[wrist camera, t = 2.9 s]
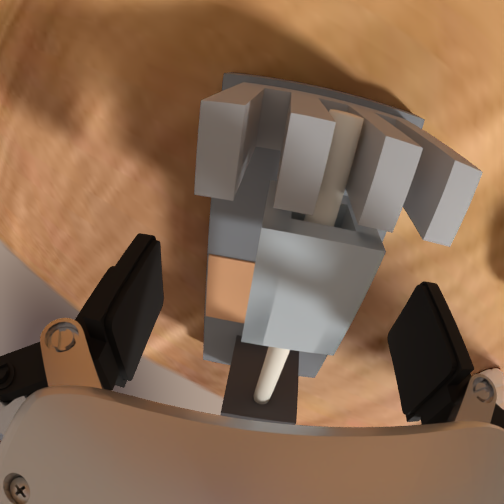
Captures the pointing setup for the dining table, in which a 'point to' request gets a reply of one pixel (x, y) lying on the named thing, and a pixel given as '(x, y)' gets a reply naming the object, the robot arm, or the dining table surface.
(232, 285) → the board
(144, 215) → the dining table surface
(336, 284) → the sleeve
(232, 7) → the dining table surface
